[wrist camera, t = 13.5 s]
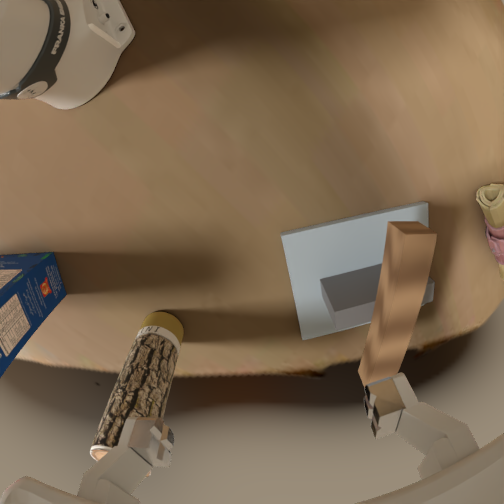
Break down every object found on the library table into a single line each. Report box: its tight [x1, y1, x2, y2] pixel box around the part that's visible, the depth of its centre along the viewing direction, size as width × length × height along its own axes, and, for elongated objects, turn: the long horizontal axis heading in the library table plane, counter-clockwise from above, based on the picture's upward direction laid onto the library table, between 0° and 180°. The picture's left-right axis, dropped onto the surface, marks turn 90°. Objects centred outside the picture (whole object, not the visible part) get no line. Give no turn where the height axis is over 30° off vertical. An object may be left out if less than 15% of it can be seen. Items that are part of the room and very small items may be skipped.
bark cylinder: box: [90, 312, 184, 477], centre depth 32 cm, size 7×7×25 cm
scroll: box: [476, 183, 504, 280], centre depth 35 cm, size 8×8×20 cm
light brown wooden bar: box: [358, 221, 437, 387], centre depth 30 cm, size 22×4×4 cm, turn 2°
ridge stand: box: [281, 201, 435, 340], centre depth 36 cm, size 22×18×9 cm
